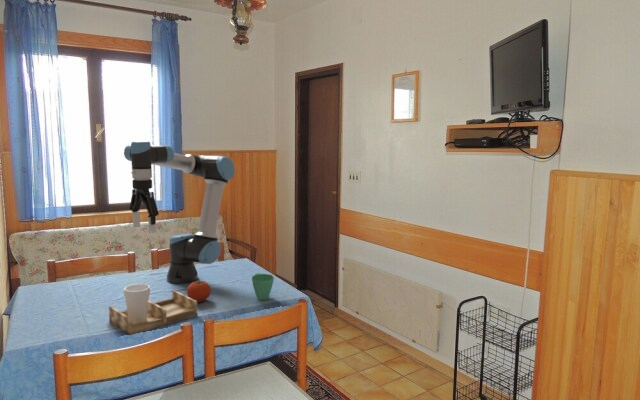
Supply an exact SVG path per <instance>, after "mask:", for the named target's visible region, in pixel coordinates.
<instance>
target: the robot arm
mask: <svg viewBox="0 0 640 400" xmlns="http://www.w3.org/2000/svg"><path fill="white" fill-rule="evenodd" d="M123 154H124V155H123V156H124V158H125V159H126V160H127V161H128V162H131V172H130V173H131V177H132V190H131V198H130V204H129V210H130V211H131V212H132V226H133V228H140V227H141V217H140V216H141V215H140V213H141V212H140V207H141V204H143V205H144V206H145V209H146V211H147V214H148V216H147V217H148V218H147V219H148V220H147V221H148V222H147V223H148V233H150V234H151V233H156V232H157V222H156V221H157V220H156V217H157V216H159V215H160V214H159V209H158V206H157V203H156V199H155V193H154V191H150V190H151V189H152V188H153V180H152V178H153V173H152V170H153V169H152V165H154V166H159V167H164V168H168V169H174V170H179V171H181V172H183V173H184V174H189V175H192V176H195V177H200V178H203V179H204V182H205V183H206V186H205V190H204V197H203V201H202V206H201V212H200V219H199V224H198V229H197V231H196V232H195V233H194V234H193V233H190V232H189V233H181V234H175V235H172V236H170V238H169V268H168V271H167V273H166V274H167V275H166V280H167V282H169V283H171V284H188V283H193V282H195V281H198V280H199V279H198V277H199V275H198V271H197V268H196V265H195V263H198V264H199V263H200V264H203V265H210V264H211V265H212V264H213V263H215V262H216V261H217V260H218V258H219V256H220V255H221V250H222V248H221V243H220V242H219V241H218V239H219V237H218V236H217V233H216V232H217V227H218V220H219V216H220V212H221V211H220V210H221V206H222V205H221V204H222V198H223V193H224V188H225V187H226V186H227V185H228V182H229V181H230V180H232V179H233V178H234V176H235V171H236V169H235V168H236V167H235V165H234V162H233V160H232V159H231V158H230V157H228V156H224V155H210V154H209V155H208V154H207V155H206V154H201V155H199V154H198V155H196V154H188V153H187V154H180V153H176V152H174V149H173V148H172V147H171V146H170V145H167V144H160V145H157V144H151V142H150V141H146V140H145V141H144V140H143V141H142V140H139V141H138V140H134V141H132V142H131V143H130V144H127V145H126V146H125V147H124V151H123Z"/></svg>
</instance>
